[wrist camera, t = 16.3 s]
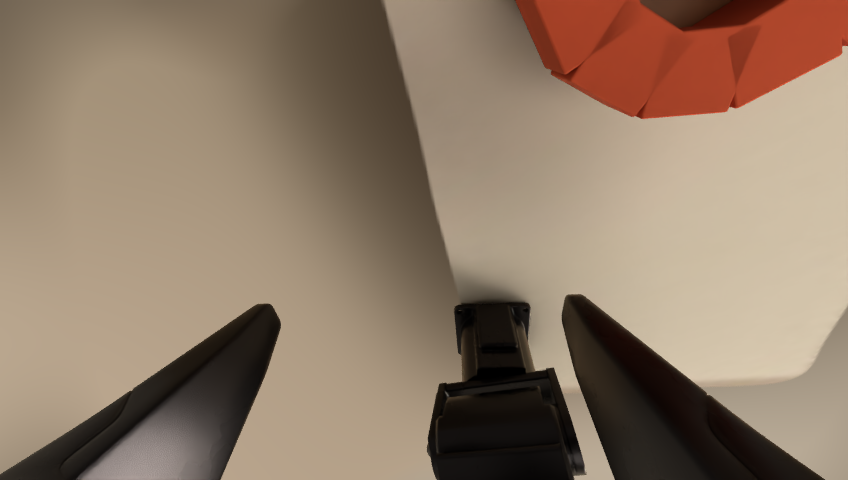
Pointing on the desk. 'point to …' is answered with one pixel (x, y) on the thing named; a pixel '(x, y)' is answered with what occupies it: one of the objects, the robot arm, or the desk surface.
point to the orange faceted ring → (683, 51)
